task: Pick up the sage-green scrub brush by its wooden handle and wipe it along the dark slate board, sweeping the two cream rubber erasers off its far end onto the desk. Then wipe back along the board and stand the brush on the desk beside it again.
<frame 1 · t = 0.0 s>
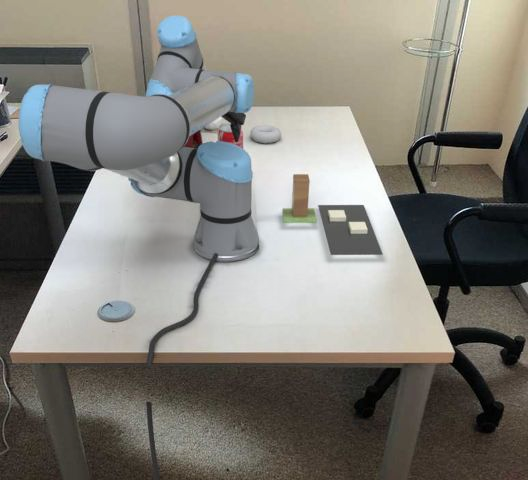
hand: (212, 134, 168), 15 cm above the table, tool tilted 35°, fingers open, 13 cm apart
scrub brush: (298, 222, 163), on the table
soda can: (230, 172, 187), on the table
slate: (347, 233, 158), on the table
donut: (265, 139, 209), on the table
eraser 1: (357, 230, 157), point 1 cm above the table, touching slate
eraser 2: (336, 217, 162), point 1 cm above the table, touching slate
handbag: (182, 140, 207), on the table
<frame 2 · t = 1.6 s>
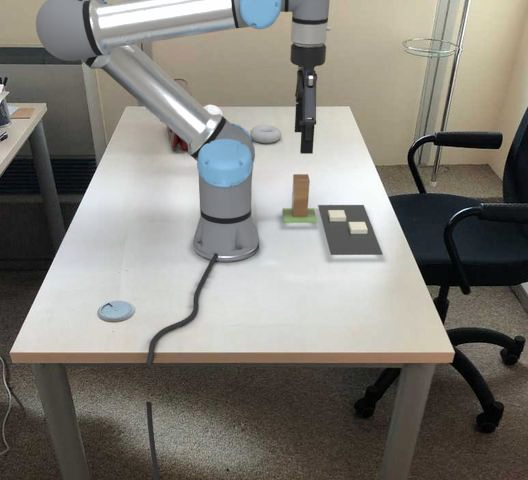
hand: (303, 142, 150), 20 cm above the table, tool pointing down, fingers open, 13 cm apart
nothing on the table moved.
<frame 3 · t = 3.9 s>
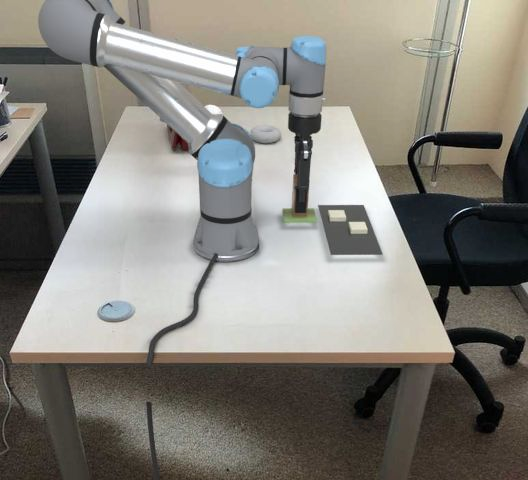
hand: (299, 208, 160), 4 cm above the table, tool pointing down, fingers closed on scrub brush, 4 cm apart
scrub brush: (298, 222, 163), on the table, touching gripper
everything else where it was.
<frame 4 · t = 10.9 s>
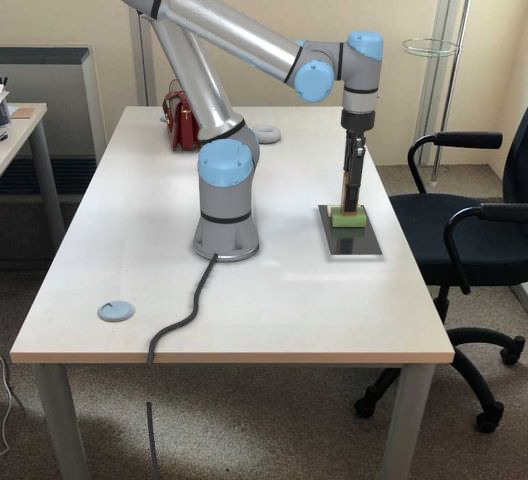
hand: (348, 206, 157), 6 cm above the table, tool pointing down, fingers closed on scrub brush, 4 cm apart
scrub brush: (347, 221, 160), point 2 cm above the table, touching eraser 1, gripper
eraser 1: (353, 213, 164), point 2 cm above the table, touching scrub brush
eraser 2: (335, 213, 164), point 1 cm above the table, touching slate
everything else where it was.
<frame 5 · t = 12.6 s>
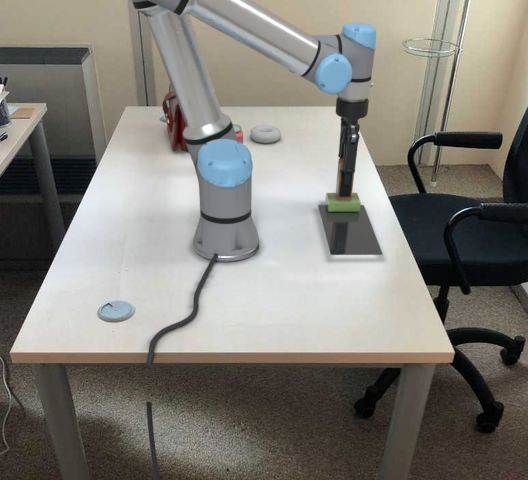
hand: (343, 192, 164), 6 cm above the table, tool pointing down, fingers closed on scrub brush, 4 cm apart
scrub brush: (342, 206, 167), point 2 cm above the table, touching gripper
eraser 1: (349, 206, 171), on the table
eraser 2: (331, 206, 170), on the table
everything else where it was.
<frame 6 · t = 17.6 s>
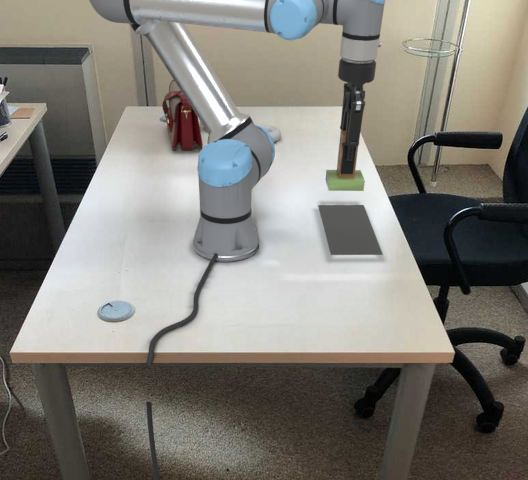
hand: (345, 169, 146), 17 cm above the table, tool pointing down, fingers closed on scrub brush, 4 cm apart
scrub brush: (344, 185, 149), point 13 cm above the table, touching gripper
everything else where it was.
when the fingers open (4 cm above the table, at t = 21.8 s): scrub brush stays where it is, on the table.
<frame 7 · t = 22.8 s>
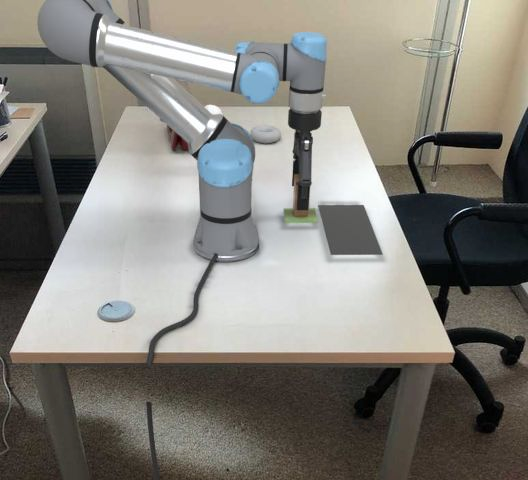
hand: (299, 197, 158), 7 cm above the table, tool pointing down, fingers open, 13 cm apart
scrub brush: (299, 222, 163), on the table
everything else where it was.
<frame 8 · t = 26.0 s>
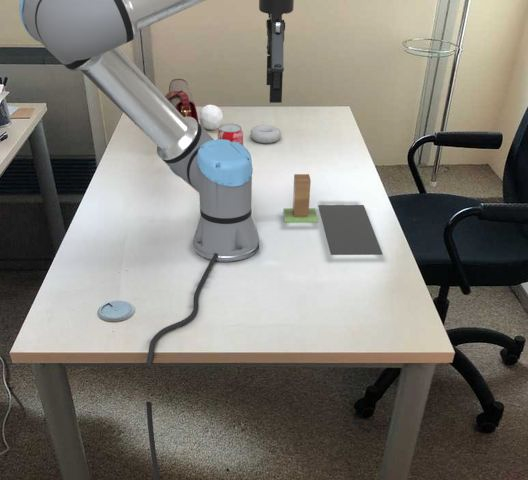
hand: (273, 93, 152), 29 cm above the table, tool pointing down, fingers open, 13 cm apart
nothing on the table moved.
at the end: eraser 1 inside the target area (2.8 cm from its centre), on the table; eraser 2 inside the target area (2.5 cm from its centre), on the table; scrub brush inside the target area (0.2 cm from its centre), on the table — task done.
